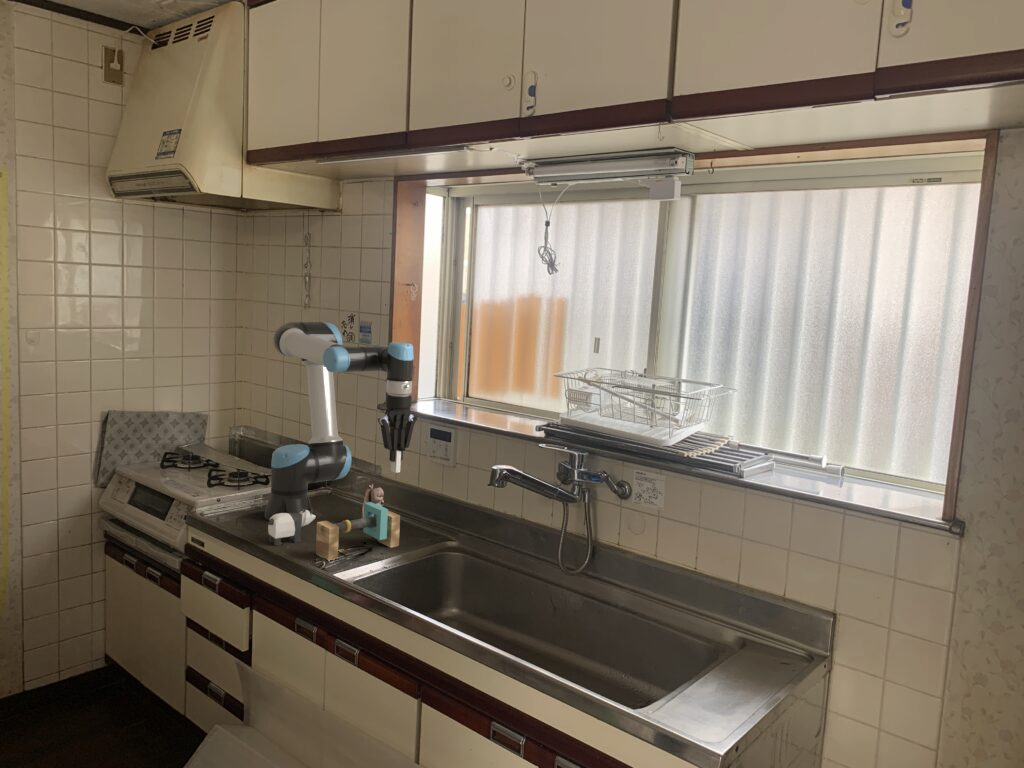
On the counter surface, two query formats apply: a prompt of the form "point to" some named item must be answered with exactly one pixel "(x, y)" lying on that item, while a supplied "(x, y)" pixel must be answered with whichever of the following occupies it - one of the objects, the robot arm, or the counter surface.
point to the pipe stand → (330, 532)
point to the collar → (382, 515)
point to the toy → (373, 497)
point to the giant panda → (288, 525)
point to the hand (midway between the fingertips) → (395, 471)
